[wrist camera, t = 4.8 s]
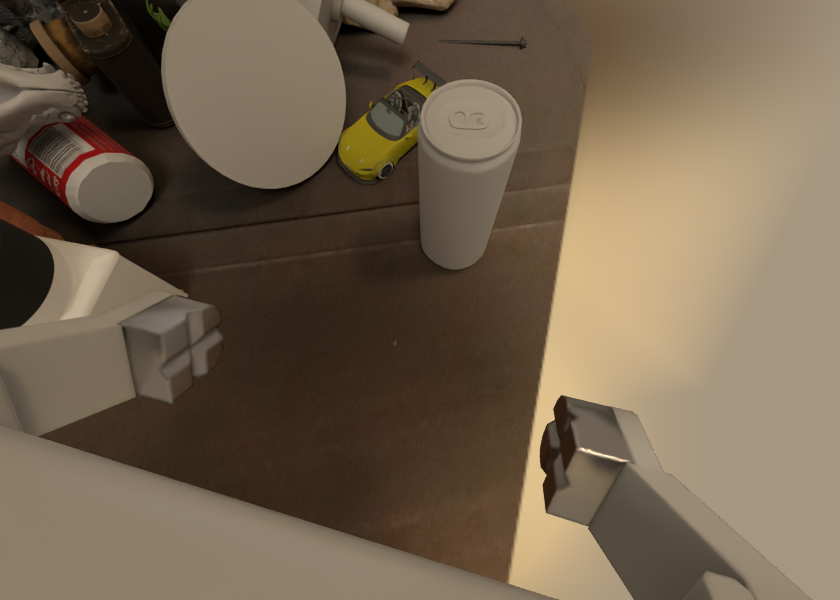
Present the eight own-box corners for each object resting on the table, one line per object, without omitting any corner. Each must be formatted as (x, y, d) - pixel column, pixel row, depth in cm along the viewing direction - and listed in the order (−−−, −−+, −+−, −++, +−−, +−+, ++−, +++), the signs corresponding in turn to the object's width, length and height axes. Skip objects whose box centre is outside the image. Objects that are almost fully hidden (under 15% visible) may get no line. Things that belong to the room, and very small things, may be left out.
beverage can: (485, 275, 28) (526, 164, 16) (418, 271, 28) (413, 158, 16) (486, 216, 29) (524, 78, 18) (422, 213, 29) (421, 74, 18)
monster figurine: (184, -76, 19) (133, -55, 25) (151, 163, 23) (112, 132, 28) (364, 46, 28) (295, 41, 34) (322, 203, 32) (266, 173, 38)
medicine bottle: (192, 294, 28) (29, 197, 16) (150, 393, 25) (-74, 360, 14) (102, 276, 28) (-116, 170, 17) (52, 371, 26) (-237, 323, 15)
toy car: (328, 157, 31) (317, 131, 28) (414, 84, 33) (412, 53, 30) (370, 194, 30) (363, 172, 27) (457, 117, 32) (460, 88, 29)
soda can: (168, 203, 31) (78, 132, 33) (139, 143, 26) (38, 66, 29) (97, 239, 28) (4, 159, 30) (51, 178, 23) (-54, 89, 26)
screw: (524, 52, 35) (525, 42, 35) (527, 44, 34) (527, 33, 34) (438, 50, 36) (439, 40, 36) (437, 42, 35) (438, 32, 35)
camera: (60, 33, 36) (-36, -73, 29) (128, 4, 37) (53, -105, 30) (120, 150, 31) (24, 61, 24) (196, 114, 33) (127, 17, 25)
